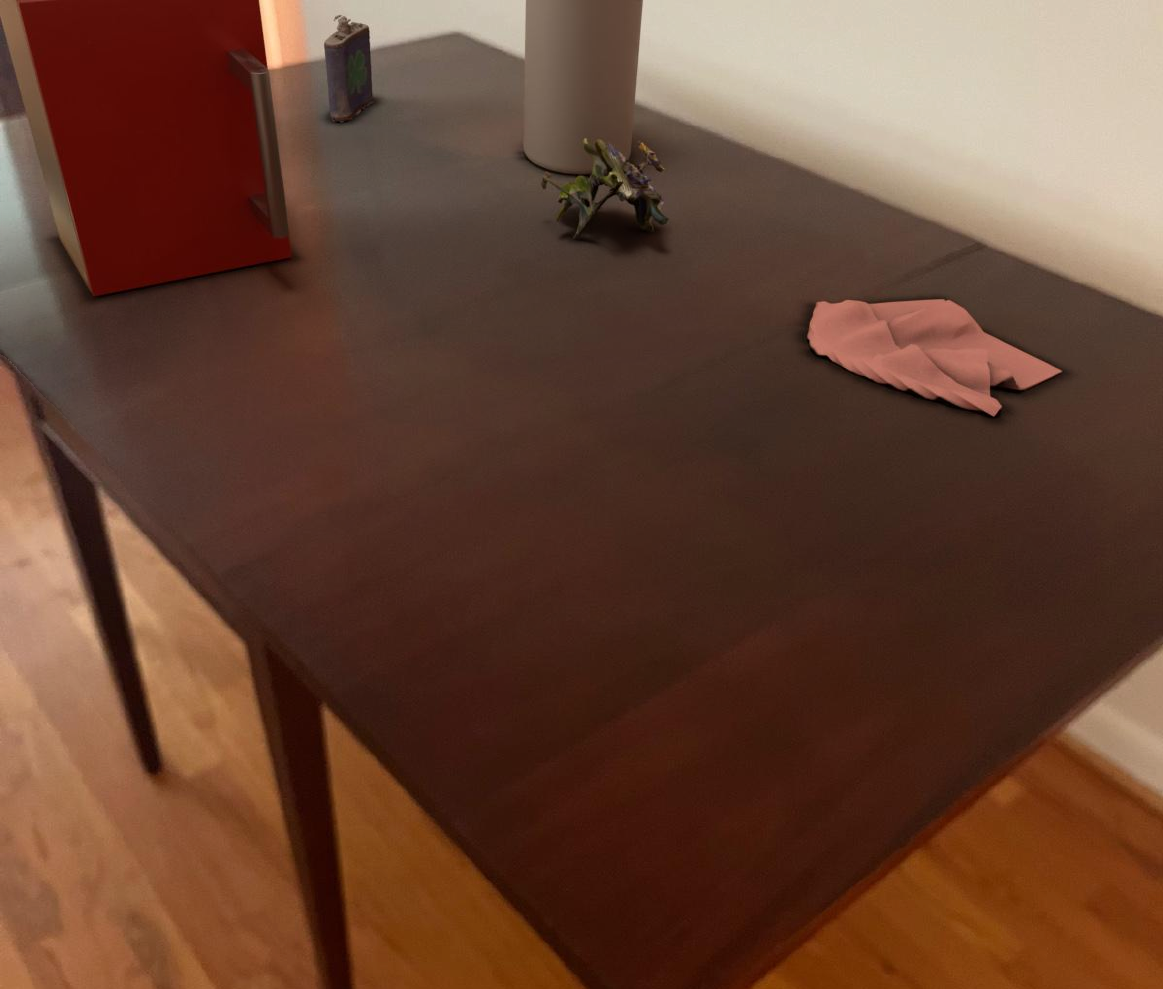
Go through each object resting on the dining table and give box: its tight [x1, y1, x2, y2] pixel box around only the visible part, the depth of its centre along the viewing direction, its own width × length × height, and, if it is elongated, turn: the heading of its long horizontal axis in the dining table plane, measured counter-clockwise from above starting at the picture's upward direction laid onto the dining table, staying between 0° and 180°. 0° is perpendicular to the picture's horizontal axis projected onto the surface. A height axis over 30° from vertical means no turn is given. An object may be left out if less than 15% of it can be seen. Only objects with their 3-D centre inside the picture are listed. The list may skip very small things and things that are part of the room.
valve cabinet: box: [0, 0, 92, 293], centre depth 101 cm, size 12×18×24 cm, turn 121°
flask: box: [323, 14, 374, 124], centre depth 136 cm, size 9×3×11 cm, turn 163°
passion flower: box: [540, 139, 670, 240], centre depth 114 cm, size 11×11×12 cm
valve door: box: [16, 0, 293, 297], centre depth 95 cm, size 7×18×24 cm, turn 121°
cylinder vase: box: [522, 0, 644, 175], centre depth 123 cm, size 12×12×25 cm
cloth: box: [806, 298, 1063, 417], centre depth 100 cm, size 20×22×2 cm
